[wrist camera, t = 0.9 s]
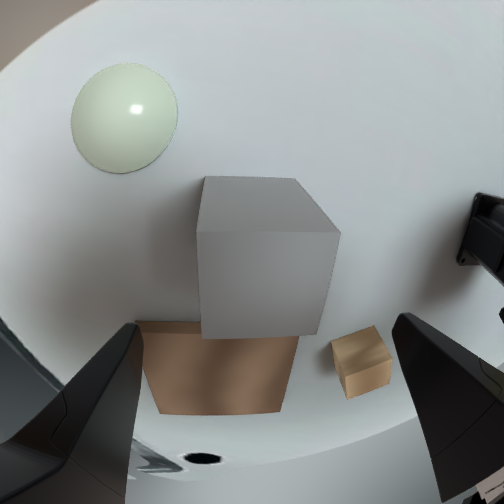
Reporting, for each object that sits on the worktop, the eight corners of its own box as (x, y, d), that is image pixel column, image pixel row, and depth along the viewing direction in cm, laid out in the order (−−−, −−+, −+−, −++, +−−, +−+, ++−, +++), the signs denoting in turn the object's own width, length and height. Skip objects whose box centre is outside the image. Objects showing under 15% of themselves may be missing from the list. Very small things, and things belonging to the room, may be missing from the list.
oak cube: (373, 324, 23) (392, 358, 20) (373, 351, 25) (389, 383, 22) (330, 340, 23) (345, 376, 20) (334, 365, 25) (347, 399, 22)
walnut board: (296, 319, 21) (300, 330, 20) (277, 402, 27) (279, 411, 26) (135, 320, 20) (132, 331, 19) (161, 404, 26) (160, 413, 25)
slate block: (294, 178, 16) (340, 232, 10) (285, 255, 19) (316, 334, 13) (205, 176, 16) (196, 231, 10) (206, 255, 18) (202, 339, 12)
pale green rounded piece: (180, 60, 12) (178, 58, 12) (178, 166, 15) (176, 170, 15) (78, 74, 12) (70, 73, 11) (82, 172, 15) (75, 177, 14)
